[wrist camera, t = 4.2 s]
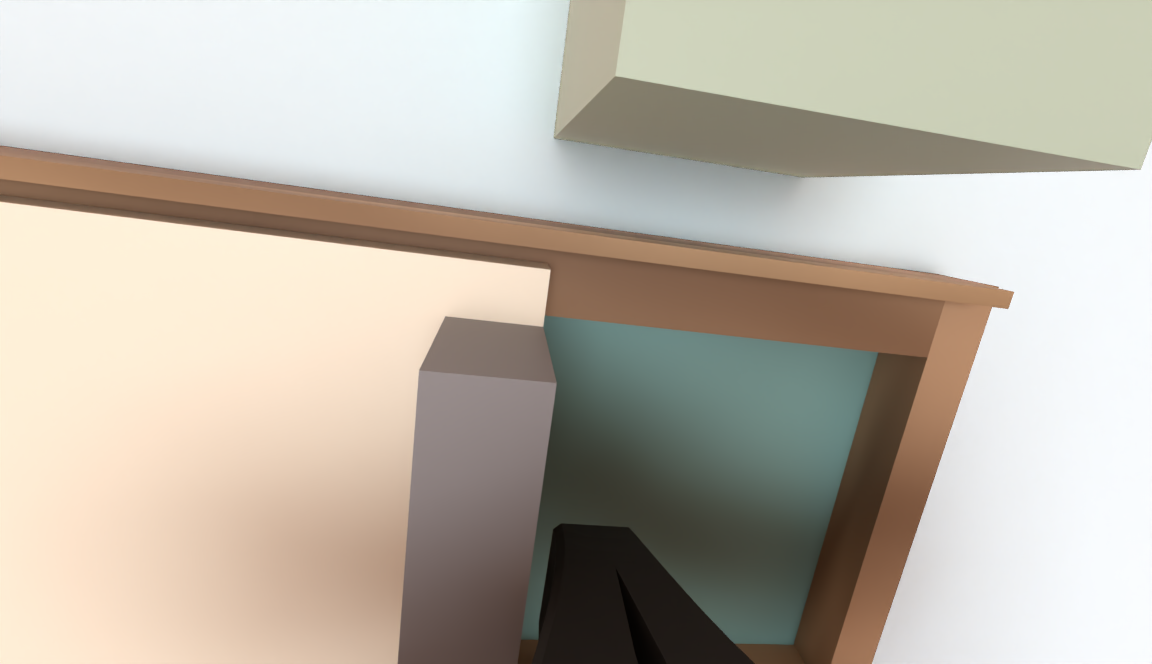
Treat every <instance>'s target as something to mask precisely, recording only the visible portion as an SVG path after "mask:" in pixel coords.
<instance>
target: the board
mask: <svg viewBox="0 0 1152 664" xmlns="http://www.w3.org/2000/svg"><path fill="white" fill-rule="evenodd" d="M0 195H5V196H13V197H21V198H29V199H37V200H45V201H53V202H61V203H69V204H77V205H84V206H92V207H100V208H108V209H116V210H124V211H132V212H140V213H148V214H156V215H164V216H172V217H180V218H188V219H196V220H204V221H212V222H220V223H228V224H236V225H244V226H252V227H260V228H268V229H276V230H284V231H292V232H300V233H308V234H316V235H324V236H332V237H340V238H348V239H356V240H364V241H372V242H380V243H388V244H396V245H404V246H412V247H420V248H428V249H436V250H444V251H452V252H460V253H468V254H476V255H484V256H492V257H500V258H508V259H516V260H524V261H532V262H540V263H548V265H549V268H550V270H551V271H550V279H549V286H548V294H547V302H546V309H545V317H544V325H543V328H544V332H545V336H546V340H547V344H548V349H549V353H550V357H551V361H552V365H553V369H554V373H555V378H556V382H557V385H556V393H555V400H554V407H553V414H552V421H551V428H550V435H549V443H548V450H547V457H546V464H545V471H544V478H543V485H542V493H541V500H540V507H539V514H538V521H537V528H536V535H535V543H534V550H533V557H532V564H531V571H530V578H529V585H528V593H527V600H526V607H525V614H524V621H523V628H522V636H521V643H520V650H519V657H518V664H532V660H533V657H534V654H535V651H536V647H537V644H538V638H539V616H540V610H541V603H542V597H543V591H544V584H545V578H546V571H547V565H548V558H549V552H550V546H551V539H552V533H553V529H554V528H555V527H557V526H558V525H559V524H561V523H564V524H582V525H599V526H617V527H629V528H630V529H631V530H632V531H633V532H634V533H635V535H636V536H637V537H638V538H639V539H640V540H641V541H642V543H643V544H644V545H645V546H646V547H647V548H648V549H649V551H650V552H651V553H652V554H653V555H654V556H655V558H656V559H657V560H658V561H659V562H660V563H661V565H662V566H663V567H664V568H665V569H666V570H667V571H668V573H669V574H670V575H671V576H672V577H673V578H674V579H675V581H676V582H677V583H678V584H679V585H680V586H681V587H682V588H683V590H684V591H685V592H686V593H687V594H688V595H689V596H690V597H691V598H692V599H693V601H694V602H695V603H696V604H697V605H698V606H699V607H700V608H701V609H702V610H703V611H704V613H705V614H706V615H707V616H708V617H709V618H710V619H711V620H712V621H713V622H714V623H715V624H716V625H717V626H718V627H719V628H720V629H721V630H722V631H723V632H724V633H725V634H726V635H727V637H728V638H729V639H730V640H731V641H732V642H733V643H734V644H735V645H736V646H737V647H739V648H740V649H741V650H742V651H743V652H744V653H745V654H746V655H747V656H748V657H749V658H750V659H751V660H752V661H753V662H754V663H755V664H872V661H873V658H874V655H875V652H876V649H877V646H878V643H879V640H880V637H881V634H882V631H883V628H884V625H885V622H886V619H887V616H888V613H889V610H890V608H891V605H892V602H893V599H894V596H895V593H896V590H897V587H898V584H899V581H900V578H901V575H902V572H903V569H904V566H905V563H906V560H907V557H908V554H909V551H910V548H911V545H912V542H913V539H914V536H915V533H916V531H917V528H918V525H919V522H920V519H921V516H922V513H923V510H924V507H925V504H926V501H927V498H928V495H929V492H930V489H931V486H932V483H933V480H934V477H935V474H936V471H937V468H938V465H939V462H940V459H941V456H942V453H943V451H944V448H945V445H946V442H947V439H948V436H949V433H950V430H951V427H952V424H953V421H954V418H955V415H956V412H957V409H958V406H959V403H960V400H961V397H962V394H963V391H964V388H965V385H966V382H967V379H968V376H969V374H970V371H971V368H972V365H973V362H974V359H975V356H976V353H977V350H978V347H979V344H980V341H981V338H982V335H983V332H984V329H985V326H986V323H987V320H988V317H989V314H990V311H991V308H992V307H997V308H1005V309H1008V308H1009V305H1010V302H1011V299H1012V296H1013V294H1014V292H1012V291H1007V290H1003V289H998V288H999V287H997V286H992V285H987V284H982V283H977V282H973V281H968V280H963V279H958V278H953V277H949V276H944V275H939V274H932V273H925V272H918V271H910V270H903V269H896V268H889V267H881V266H874V265H867V264H859V263H852V262H845V261H838V260H830V259H823V258H816V257H808V256H801V255H794V254H786V253H779V252H772V251H765V250H757V249H750V248H743V247H735V246H728V245H721V244H714V243H706V242H699V241H692V240H684V239H677V238H670V237H663V236H655V235H648V234H641V233H633V232H626V231H619V230H611V229H604V228H597V227H590V226H582V225H575V224H568V223H560V222H553V221H546V220H539V219H531V218H524V217H517V216H509V215H502V214H495V213H488V212H480V211H473V210H466V209H458V208H451V207H444V206H436V205H429V204H422V203H415V202H407V201H400V200H393V199H385V198H378V197H371V196H364V195H356V194H349V193H342V192H334V191H327V190H320V189H313V188H305V187H298V186H291V185H283V184H276V183H269V182H262V181H254V180H247V179H240V178H232V177H225V176H218V175H210V174H203V173H196V172H189V171H181V170H174V169H167V168H159V167H152V166H145V165H138V164H130V163H123V162H116V161H108V160H101V159H94V158H87V157H79V156H72V155H65V154H57V153H50V152H43V151H35V150H28V149H21V148H14V147H6V146H0Z"/></svg>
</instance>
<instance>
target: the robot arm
mask: <svg viewBox="0 0 1152 664" xmlns="http://www.w3.org/2000/svg"><path fill="white" fill-rule="evenodd" d="M532 664H755V663H754V662H753V661H752V660H751V659H750V658H749V657H748V656H747V655H746V654H745V653H744V652H743V651H742V650H741V649H740V648H739V647H737V646H736V645H735V644H734V643H733V642H732V641H731V640H730V639H729V638H728V637H727V635H726V634H725V633H724V632H723V631H722V630H721V629H720V628H719V627H718V626H717V625H716V624H715V623H714V622H713V621H712V620H711V619H710V618H709V617H708V616H707V615H706V614H705V613H704V611H703V610H702V609H701V608H700V607H699V606H698V605H697V604H696V603H695V602H694V601H693V599H692V598H691V597H690V596H689V595H688V594H687V593H686V592H685V591H684V590H683V588H682V587H681V586H680V585H679V584H678V583H677V582H676V581H675V579H674V578H673V577H672V576H671V575H670V574H669V573H668V571H667V570H666V569H665V568H664V567H663V566H662V565H661V563H660V562H659V561H658V560H657V559H656V558H655V556H654V555H653V554H652V553H651V552H650V551H649V549H648V548H647V547H646V546H645V545H644V544H643V543H642V541H641V540H640V539H639V538H638V537H637V536H636V535H635V533H634V532H633V531H632V530H631V529H630V528H629V527H617V526H599V525H582V524H564V523H561V524H559V525H558V526H557V527H555V528H554V529H553V533H552V539H551V546H550V552H549V558H548V565H547V571H546V578H545V584H544V591H543V597H542V603H541V610H540V616H539V638H538V644H537V647H536V651H535V654H534V657H533V660H532Z"/></svg>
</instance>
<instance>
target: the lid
mask: <svg viewBox="0 0 1152 664" xmlns="http://www.w3.org/2000/svg"><path fill="white" fill-rule="evenodd" d="M550 271H551V270H550V268H549V265H548V263H540V262H532V261H524V260H516V259H508V258H500V257H492V256H484V255H476V254H468V253H460V252H452V251H444V250H436V249H428V248H420V247H412V246H404V245H396V244H388V243H380V242H372V241H364V240H356V239H348V238H340V237H332V236H324V235H316V234H308V233H300V232H292V231H284V230H276V229H268V228H260V227H252V226H244V225H236V224H228V223H220V222H212V221H204V220H196V219H188V218H180V217H172V216H164V215H156V214H148V213H140V212H132V211H124V210H116V209H108V208H100V207H92V206H84V205H77V204H69V203H61V202H53V201H45V200H37V199H29V198H21V197H13V196H5V195H0V664H518V657H519V650H520V643H521V636H522V628H523V621H524V614H525V607H526V600H527V593H528V585H529V578H530V571H531V564H532V557H533V550H534V543H535V535H536V528H537V521H538V514H539V507H540V500H541V493H542V485H543V478H544V471H545V464H546V457H547V450H548V443H549V435H550V428H551V421H552V414H553V407H554V400H555V393H556V385H557V382H556V378H555V373H554V369H553V365H552V361H551V357H550V353H549V349H548V344H547V340H546V336H545V332H544V328H543V325H544V317H545V309H546V302H547V294H548V286H549V279H550Z"/></svg>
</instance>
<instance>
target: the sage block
mask: <svg viewBox="0 0 1152 664" xmlns="http://www.w3.org/2000/svg"><path fill="white" fill-rule="evenodd" d="M554 138H556V139H562V140H568V141H575V142H581V143H587V144H594V145H600V146H606V147H613V148H619V149H625V150H632V151H638V152H645V153H651V154H657V155H664V156H670V157H676V158H683V159H689V160H695V161H702V162H708V163H715V164H721V165H727V166H734V167H740V168H746V169H753V170H759V171H765V172H772V173H778V174H784V175H791V176H797V177H845V176H888V175H931V174H974V173H1017V172H1060V171H1103V170H1141V167H1142V164H1143V162H1144V159H1145V157H1146V154H1147V151H1148V149H1149V146H1150V143H1151V141H1152V0H570V6H569V14H568V23H567V31H566V39H565V47H564V56H563V64H562V72H561V81H560V89H559V97H558V105H557V114H556V122H555V130H554Z"/></svg>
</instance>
